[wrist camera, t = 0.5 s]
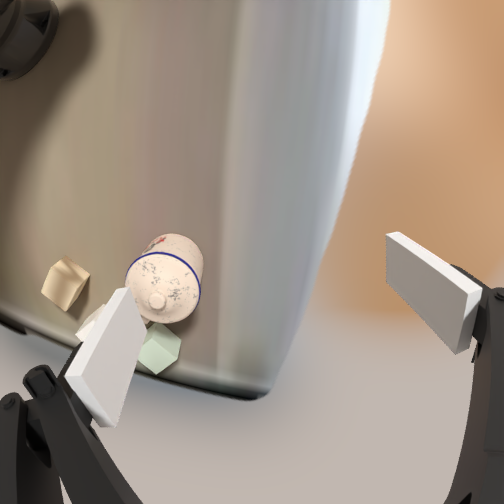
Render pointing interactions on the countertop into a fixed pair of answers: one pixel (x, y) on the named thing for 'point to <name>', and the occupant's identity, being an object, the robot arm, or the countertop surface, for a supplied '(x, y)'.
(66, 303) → the maple cube
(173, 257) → the teacup with lid
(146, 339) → the sage painted cube
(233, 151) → the countertop surface
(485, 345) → the robot arm
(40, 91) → the countertop surface
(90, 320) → the white painted cube
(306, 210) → the countertop surface
